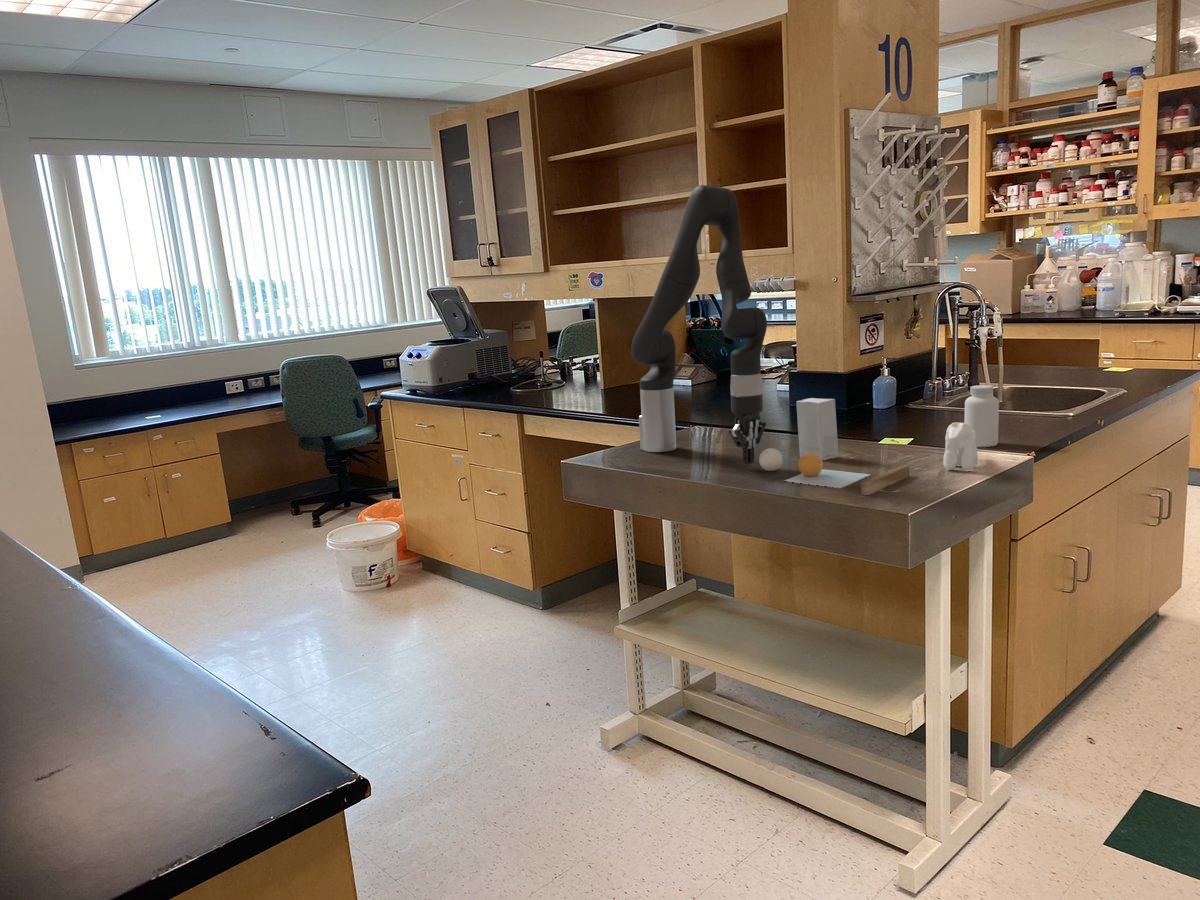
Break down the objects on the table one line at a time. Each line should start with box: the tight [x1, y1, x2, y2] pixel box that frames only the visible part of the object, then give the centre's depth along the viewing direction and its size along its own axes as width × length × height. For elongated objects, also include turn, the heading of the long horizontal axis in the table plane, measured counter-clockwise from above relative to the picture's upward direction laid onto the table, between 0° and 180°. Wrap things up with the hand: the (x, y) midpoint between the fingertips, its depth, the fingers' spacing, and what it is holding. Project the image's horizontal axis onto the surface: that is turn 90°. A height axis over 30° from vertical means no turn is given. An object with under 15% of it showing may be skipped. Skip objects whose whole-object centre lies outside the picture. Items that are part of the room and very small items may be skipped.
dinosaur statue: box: [942, 422, 978, 471], centre depth 199 cm, size 7×24×11 cm, turn 145°
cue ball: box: [758, 447, 783, 472], centre depth 208 cm, size 6×6×6 cm
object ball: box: [797, 453, 824, 477], centre depth 200 cm, size 6×6×6 cm
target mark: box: [784, 468, 872, 489], centre depth 197 cm, size 14×14×1 cm
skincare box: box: [795, 397, 839, 461], centre depth 218 cm, size 8×6×15 cm
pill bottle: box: [963, 384, 1000, 448], centre depth 221 cm, size 8×8×15 cm
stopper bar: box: [860, 464, 910, 496], centre depth 188 cm, size 2×20×2 cm, turn 137°
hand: (748, 463), depth 211 cm, fingers closed
